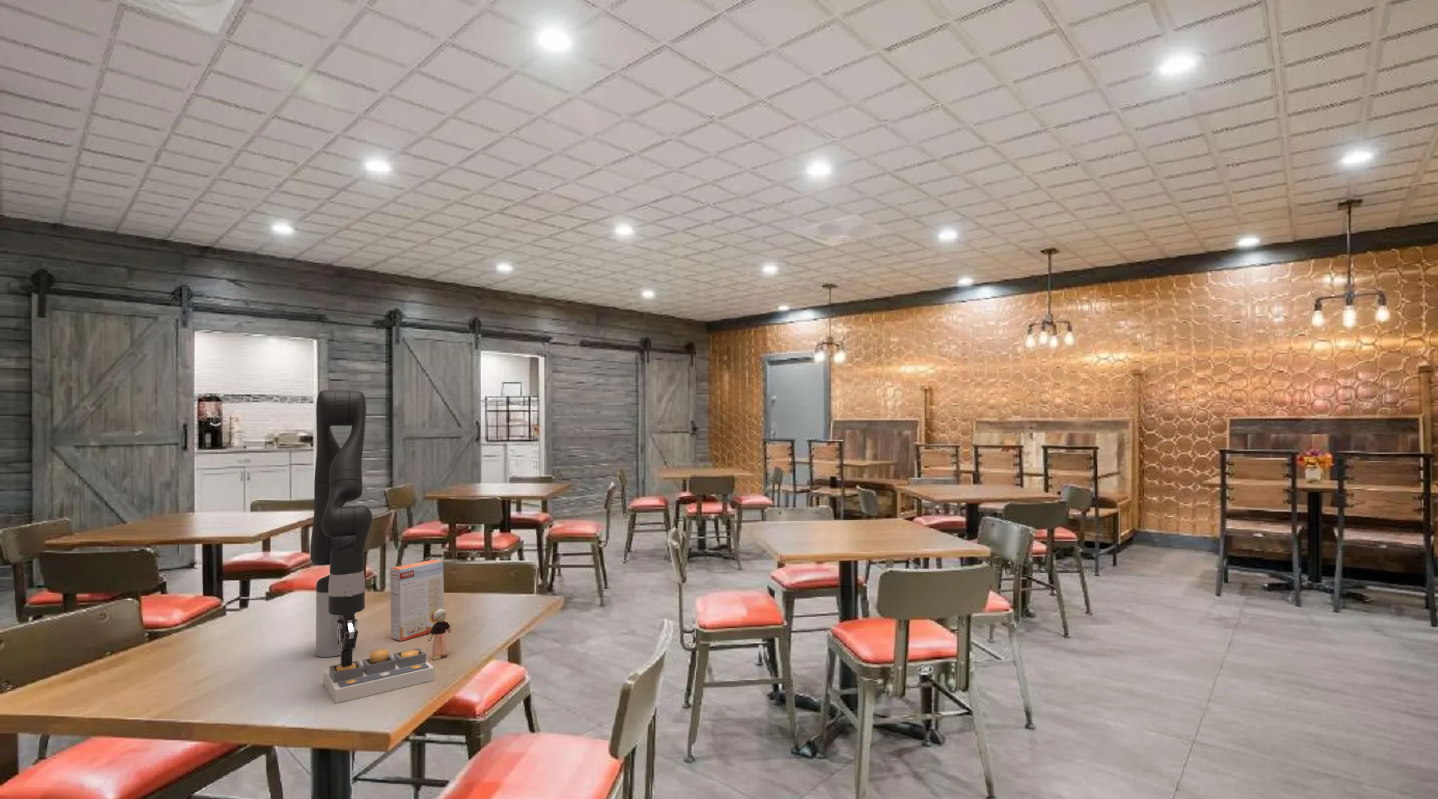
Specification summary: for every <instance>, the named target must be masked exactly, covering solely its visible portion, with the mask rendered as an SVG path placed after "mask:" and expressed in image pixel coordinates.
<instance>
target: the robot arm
mask: <svg viewBox="0 0 1438 799" xmlns="http://www.w3.org/2000/svg"><path fill="white" fill-rule="evenodd" d="M315 415H316V417H315V418H316V419H315V420H316V421H315V422H316V456H315V458H316V459H315V469H314V470H315V471H314V480H313V481H314V482H313V484H314V485H313V486H314V487H313V490H314V491H313V492H314V494H313V495H314V496H313V497H314V499H313V500H314V501H313V502H314V504H313V518H312V519H313V521H312V528H311V530H312V531H311V539H310V546H309V547H310V548H309V554H310V555H309V556H310V561H311V563H312V564H313V565H314V566H318V567H319V566H320V567H321V566H329V574H328V575H325V576H323V577H322V578H319V579H318V580H317V581H316V584H315V586H316V588H315V590H316V593H315V596H316V597H315V601H316V602H315V606H316V607H315V656H316V657H321V658H330V657H331V658H332V657H338V656H340V664H341V666H342V667H347V666H351V665H352V662H353V651H354V649H356V645H357V644H356V643H357V640H358V634H359V631H358V629H357V627H358V619H356V616H355V614H356V613H359V612H362V611H363V610H364V609H365V606H366V604H365V602H366V600H365V597H366V592H365V590H366V585H365V584H366V580H365V573H364V566H365V565H364V564H365V563H364V561H365V559H364V557H365V546H366V542H367V539H368V536H369V532H370V530H371V526H372V522H373V512H372V511H371V509H370V508H369V507H368V506H367V505H350V506H349V505H347V506H345V504H347V503H348V502H352V501H355V500H358V499H359V498H360V497H361V496H362V494H363V470H362V469H363V468H362V466H363V465H362V464H363V463H362V462H363V452H364V451H363V450H364V444H365V443H364V442H365V435H366V434H365V432H366V419H367V418H366V417H367V401H366V397H365V394H364V393H363V392H362V391H360V390H350V389H348V390H347V389H346V390H343V389H341V390H339V389H323V390H320V391H319V393H318V395H317V398H316V410H315ZM333 426H335V427H336V426H337V427H340V426H341V427H343V426H345V427H348V426H349V427H351V430H350V434H349V436H348V437H347V439H346V441H345V443H344V444H343V445H342V447H340V445H339V444H338V443H337V440H336V438H335V436H334V435H333V432H332V429H331V427H333Z"/></svg>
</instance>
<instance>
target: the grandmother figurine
mask: <svg viewBox="0 0 1438 799" xmlns="http://www.w3.org/2000/svg"><path fill="white" fill-rule="evenodd" d="M447 612H448V611H447V610H446V609H445V608H444V609H438V610H437V611H435V613H434V618H435V619H436V621H437V623H435V624H434V626H433V627H432V629H431V631H430V633H428V634H429V635H428V638H427V639H426V640H427V641H428V642H431V641H432V639H433V642H432V650H431V651H432V653H431V654H432V655H431V658H430V659H431V660H432V661H437V660H441V658H444V657H443V656H445V657H447V656H448V652H449V651H448V642H447V635H446V634H447V633H448V634H450V633H451V632H452V629H451V626H450V624H449V622H448V621H446V618H447V615H448V614H447ZM446 632H447V633H446ZM433 636H434V638H433ZM440 656H441V657H440Z"/></svg>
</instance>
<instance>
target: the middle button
mask: <svg viewBox="0 0 1438 799" xmlns="http://www.w3.org/2000/svg"><path fill="white" fill-rule="evenodd" d="M388 654H389V649H387V648H378V649H374V650H371V651H370V652H369V658H370V662H371V663H378V662H383V661H386V660H388Z"/></svg>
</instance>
